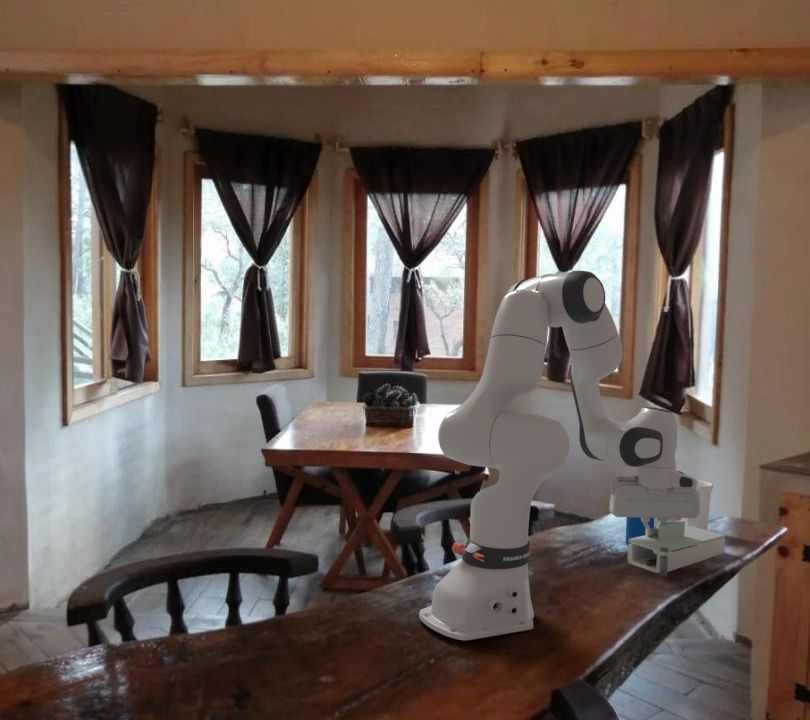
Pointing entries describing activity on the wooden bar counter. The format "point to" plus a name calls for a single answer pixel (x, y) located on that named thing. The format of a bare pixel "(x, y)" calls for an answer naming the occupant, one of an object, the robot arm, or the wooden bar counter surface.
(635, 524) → the beverage can
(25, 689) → the wooden bar counter surface
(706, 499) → the cup
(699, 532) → the white open box
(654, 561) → the cord
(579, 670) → the wooden bar counter surface
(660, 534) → the cover
